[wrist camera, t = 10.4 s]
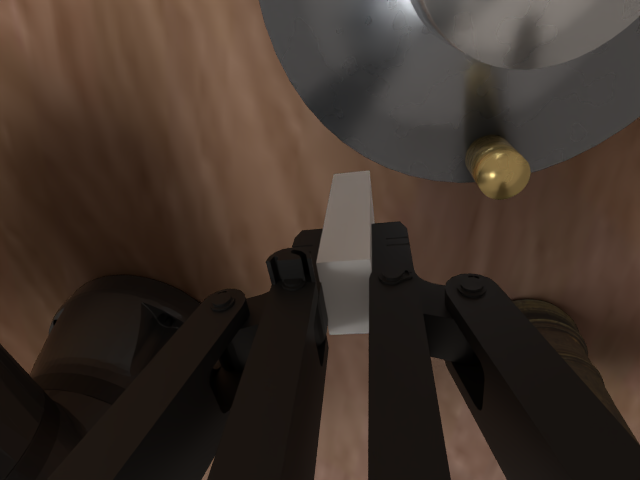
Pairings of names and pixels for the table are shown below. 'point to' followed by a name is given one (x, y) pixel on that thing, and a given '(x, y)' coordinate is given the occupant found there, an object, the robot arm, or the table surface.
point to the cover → (526, 28)
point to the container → (569, 347)
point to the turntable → (448, 93)
